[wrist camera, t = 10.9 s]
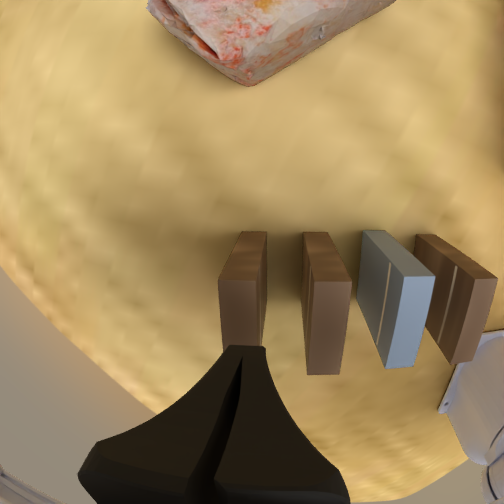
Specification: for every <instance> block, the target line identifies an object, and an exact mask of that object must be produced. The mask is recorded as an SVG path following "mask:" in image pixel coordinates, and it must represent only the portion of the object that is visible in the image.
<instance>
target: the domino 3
mask: <svg viewBox="0 0 504 504" xmlns="http://www.w3.org/2000/svg"><path fill="white" fill-rule="evenodd" d="M414 257H415V258H417V259H418V260H419V261H420V262H421V263H422V264H423V265H424V266H425V267H426V268H427V269H428V270H429V271H430V272H432V273H433V274H434V275H435V281H434V287H433V292H432V296H431V301H430V305H429V310H428V314H427V318H426V322H425V327H426V328H427V330H428V331H429V333H430V334H431V336H432V337H433V339H434V340H435V342H436V343H437V345H438V346H439V348H440V349H441V351H442V353H443V354H444V356H445V357H446V359H447V360H448V362H449V363H450V365H451V364H458V363H464V362H470V361H473V358H474V355H475V353H476V350H477V347H478V345H479V342H480V339H481V336H482V333H483V330H484V327H485V324H486V321H487V317H488V314H489V311H490V307H491V304H492V300H493V296H494V293H495V289H496V285H497V280H498V278H497V277H496V276H494V275H493V274H492V273H490V272H489V271H487V270H486V269H485V268H483V267H482V266H481V265H479V264H478V263H476V262H475V261H474V260H472V259H471V258H469V257H468V256H466V255H465V254H463V253H462V252H461V251H459V250H458V249H456V248H455V247H453V246H452V245H450V244H449V243H447V242H446V241H444V240H443V239H441V238H440V237H438V236H437V235H424V234H416V242H415V250H414Z"/></svg>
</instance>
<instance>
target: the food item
mask: <svg viewBox="0 0 504 504" xmlns="http://www.w3.org/2000/svg"><path fill="white" fill-rule="evenodd" d="M395 1H396V0H148V3H147V4H148V6H147V7H146V9H147V10H148V11H149V12H150V13H151V14H152V15H153V16H154V17H155V18H156V19H157V20H158V21H159V22H160V23H161V24H162V25H163V26H164V27H165V28H166V29H167V30H168V31H169V32H170V33H171V34H173V35H174V36H175V37H176V38H178V39H179V40H180V41H181V42H182V43H183V44H185V45H186V46H187V47H188V48H189V49H191V50H192V51H193V52H195V53H196V54H198V55H199V56H200V57H202V58H203V59H204V60H206V61H207V62H208V63H209V64H210V65H212V66H213V67H214V68H216V69H217V70H219V71H220V72H221V73H223V74H224V75H226V76H227V77H229V78H231V79H233V80H235V81H237V82H238V83H241V84H243V85H245V86H248V87H249V86H255V85H256V84H257V83H259V82H261V81H263V80H265V79H267V78H269V77H271V76H272V75H274V74H276V73H277V72H279V71H280V70H282V69H284V68H285V67H287V66H289V65H290V64H292V63H294V62H295V61H297V60H298V59H300V58H302V57H303V56H305V55H307V54H308V53H310V52H311V51H313V50H315V49H316V48H318V47H319V46H321V45H323V44H324V43H326V42H328V41H329V40H331V39H332V38H333V37H334V36H335V35H336V34H339V33H341V32H343V31H345V30H347V29H349V28H350V27H352V26H353V25H355V24H356V23H358V22H359V21H361V20H363V19H366V18H368V17H369V16H371V15H373V14H375V13H377V12H379V11H381V10H382V9H384V8H386V7H388V6H389V5H391V4H392V3H394V2H395Z"/></svg>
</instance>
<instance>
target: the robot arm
mask: <svg viewBox="0 0 504 504" xmlns="http://www.w3.org/2000/svg"><path fill="white" fill-rule="evenodd" d="M438 412H439V414H444V413H447V415H448V417H449V420H450V422H451V424H452V426H453V428H454V430H455V433H456V435H457V437H458V439H459V442H460V444H461V446H462V448H463V451H464V452H465V454H466V455H467V456H468V457H469V458H470V459H471V460H472V461H474V462H476V463H478V464H481V465H486V467H485V468H484V469H483V471H482V477H481V490H482V494H483V497H484V499H485V502H486V503H487V504H504V330H500V331H493V332H486V333H482V336H481V339H480V342H479V345H478V347H477V350H476V353H475V355H474V358H473V361H470V362H464V363H458V364H457V366H456V369H455V371H454V374H453V376H452V379H451V381H450V384H449V386H448V388H447V391H446V393H445V395H444V398H443V400H442V402H441V404H440V406H439V408H438ZM78 479H79V481H80V483H81V484H82V486H83V487H84V488H85V490H86V491H87V492H88V493H89V494H90V496H91V497H92V498H93V499H94V500H95V501H96V502H97V504H350V497H349V494H348V490H347V487H346V485H345V482H344V480H343V478H342V476H341V473H340V471H339V470H338V469H337V468H336V467H335V466H334V465H333V464H331V463H330V462H329V461H328V460H327V459H326V458H325V457H324V456H323V455H322V454H321V453H320V452H319V451H318V450H317V449H316V448H315V447H314V446H313V445H312V444H311V442H310V441H309V440H308V439H307V438H306V436H305V435H304V434H303V433H302V431H301V430H300V429H299V428H298V426H297V425H296V423H295V422H294V420H293V419H292V417H291V416H290V414H289V413H288V411H287V409H286V408H285V406H284V404H283V402H282V400H281V398H280V396H279V394H278V392H277V390H276V387H275V385H274V382H273V380H272V377H271V374H270V371H269V368H268V364H267V360H266V348H264V347H263V346H249V345H229V346H228V347H227V348H226V349H225V351H224V352H223V353H222V355H221V356H220V357H219V359H218V360H217V361H216V362H215V364H214V365H213V366H212V367H211V368H210V369H209V371H208V372H207V373H206V374H205V375H204V376H203V377H202V378H201V379H200V380H199V381H198V382H197V383H196V384H195V385H194V386H193V387H192V388H191V389H190V390H189V391H188V392H187V393H186V394H185V395H184V396H182V397H181V398H180V399H179V400H178V401H176V402H175V403H174V404H172V405H171V406H170V407H168V408H167V409H165V410H164V411H163V412H161V413H160V414H158V415H156V416H155V417H153V418H152V419H150V420H148V421H147V422H145V423H143V424H141V425H139V426H137V427H135V428H132V429H130V430H128V431H126V432H124V433H121V434H119V435H116V436H113V437H110V438H107V439H104V440H101V441H98V442H97V443H96V444H95V446H94V447H93V448H92V449H91V451H90V452H89V454H88V456H87V458H86V459H85V461H84V463H83V465H82V467H81V469H80V470H79V472H78ZM0 504H65V503H63V502H61V501H59V500H57V499H55V498H53V497H51V496H49V495H47V494H45V493H43V492H41V491H39V490H37V489H35V488H34V487H32V486H30V485H28V484H27V483H25V482H23V481H21V480H20V479H18V478H16V477H15V476H13V475H11V474H10V473H8V472H7V471H5V470H4V469H3V467H2V466H1V465H0Z"/></svg>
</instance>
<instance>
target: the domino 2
mask: <svg viewBox="0 0 504 504" xmlns="http://www.w3.org/2000/svg"><path fill="white" fill-rule="evenodd" d="M351 288H352V280H351V278H350V276H349V274H348V272H347V270H346V268H345V266H344V264H343V262H342V260H341V258H340V256H339V254H338V252H337V250H336V248H335V246H334V244H333V242H332V240H331V238H330V236H329V234H328V232H303V265H302V291H301V307H302V318H303V329H304V341H305V354H306V367H307V375H336V374H339V373H340V367H341V361H342V355H343V349H344V342H345V335H346V328H347V321H348V313H349V305H350V297H351Z"/></svg>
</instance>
